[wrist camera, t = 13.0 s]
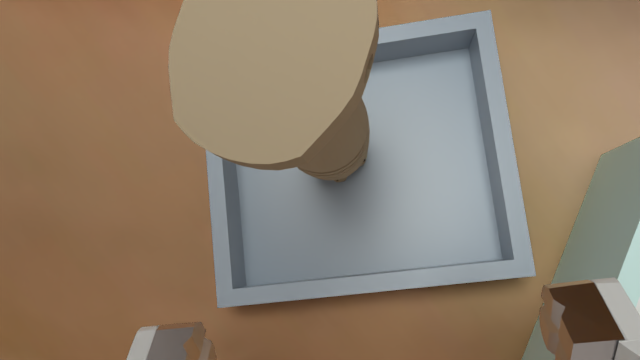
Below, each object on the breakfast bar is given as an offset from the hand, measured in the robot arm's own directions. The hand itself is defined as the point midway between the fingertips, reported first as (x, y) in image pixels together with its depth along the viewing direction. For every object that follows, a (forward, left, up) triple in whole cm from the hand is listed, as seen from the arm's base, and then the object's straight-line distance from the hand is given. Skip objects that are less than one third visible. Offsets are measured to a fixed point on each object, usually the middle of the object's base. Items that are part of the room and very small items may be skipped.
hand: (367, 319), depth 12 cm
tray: (0, +6, -14) cm, 15 cm away
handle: (-1, +7, -14) cm, 16 cm away
